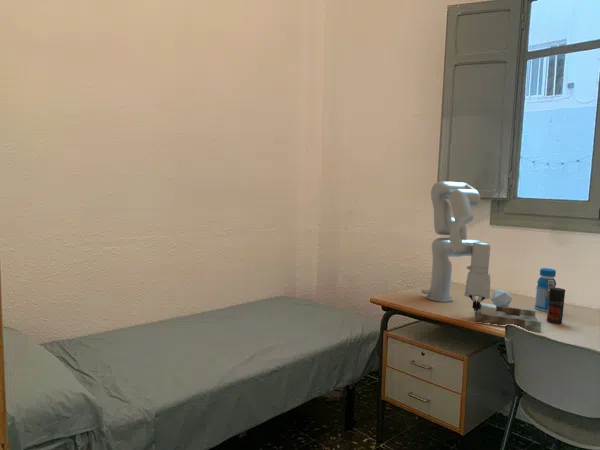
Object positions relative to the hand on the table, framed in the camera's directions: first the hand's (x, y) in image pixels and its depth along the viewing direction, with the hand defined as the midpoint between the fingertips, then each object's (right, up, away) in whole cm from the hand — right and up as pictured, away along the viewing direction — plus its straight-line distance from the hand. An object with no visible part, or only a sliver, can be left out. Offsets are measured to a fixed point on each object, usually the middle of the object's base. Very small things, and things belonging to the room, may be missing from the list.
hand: (475, 310), depth 213 cm
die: (+20, -2, +21) cm, 29 cm away
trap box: (+12, -4, -4) cm, 13 cm away
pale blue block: (+5, -2, -1) cm, 5 cm away
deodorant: (+34, -5, -2) cm, 35 cm away
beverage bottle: (+40, -3, +19) cm, 45 cm away
